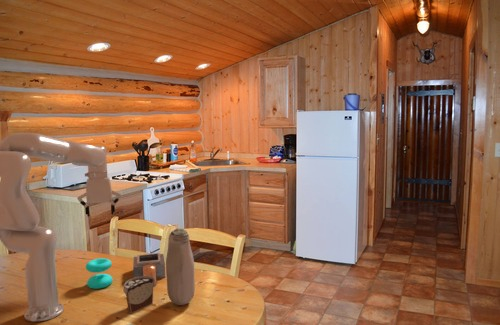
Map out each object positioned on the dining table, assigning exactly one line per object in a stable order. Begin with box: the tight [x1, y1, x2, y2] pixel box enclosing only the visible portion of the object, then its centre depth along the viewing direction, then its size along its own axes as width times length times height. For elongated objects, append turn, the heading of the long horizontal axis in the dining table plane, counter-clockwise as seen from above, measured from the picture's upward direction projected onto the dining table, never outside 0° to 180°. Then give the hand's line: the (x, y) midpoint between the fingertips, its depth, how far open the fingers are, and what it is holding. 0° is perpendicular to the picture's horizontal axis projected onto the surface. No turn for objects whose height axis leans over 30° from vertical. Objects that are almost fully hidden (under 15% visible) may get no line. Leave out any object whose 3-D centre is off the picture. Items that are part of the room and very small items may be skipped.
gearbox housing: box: [132, 252, 166, 279], centre depth 181 cm, size 13×13×7 cm
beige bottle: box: [165, 228, 196, 306], centre depth 152 cm, size 10×10×28 cm
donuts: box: [85, 257, 114, 290], centre depth 170 cm, size 10×10×10 cm
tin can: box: [143, 265, 157, 288], centre depth 169 cm, size 5×5×8 cm
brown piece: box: [122, 276, 155, 315], centre depth 151 cm, size 12×6×10 cm, turn 141°
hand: (100, 214), depth 177 cm, fingers open, 9 cm apart
